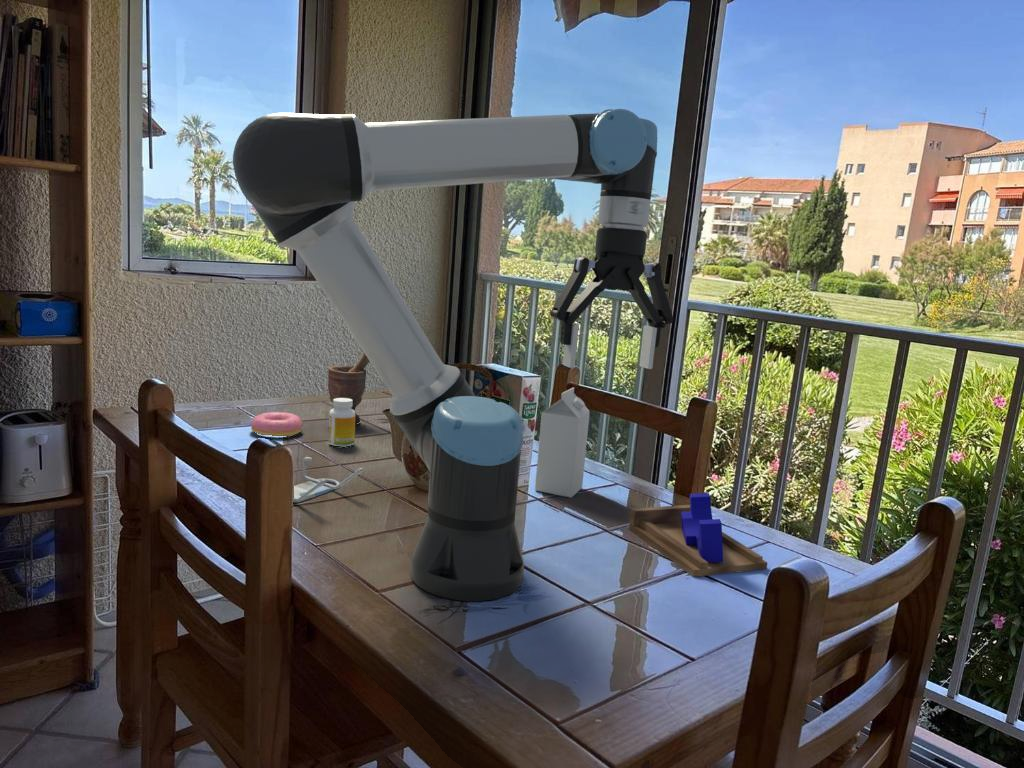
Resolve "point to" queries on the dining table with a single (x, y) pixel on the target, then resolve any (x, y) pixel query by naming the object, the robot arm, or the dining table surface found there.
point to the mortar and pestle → (348, 382)
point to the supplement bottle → (342, 423)
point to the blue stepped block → (703, 528)
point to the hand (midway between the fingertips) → (607, 367)
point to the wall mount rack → (316, 485)
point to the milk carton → (562, 446)
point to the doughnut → (276, 424)
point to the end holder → (668, 538)
